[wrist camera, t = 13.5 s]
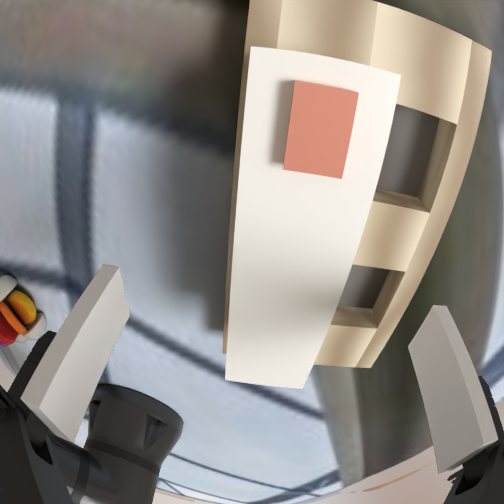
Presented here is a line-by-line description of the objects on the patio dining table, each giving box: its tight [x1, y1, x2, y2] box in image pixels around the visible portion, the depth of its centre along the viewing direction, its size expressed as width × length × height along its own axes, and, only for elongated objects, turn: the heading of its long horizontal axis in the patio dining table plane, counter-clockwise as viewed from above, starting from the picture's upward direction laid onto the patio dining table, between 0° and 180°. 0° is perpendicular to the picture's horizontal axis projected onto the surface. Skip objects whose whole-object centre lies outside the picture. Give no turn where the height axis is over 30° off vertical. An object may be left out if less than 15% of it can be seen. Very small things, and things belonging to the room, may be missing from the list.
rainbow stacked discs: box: [0, 275, 47, 347], centre depth 27 cm, size 8×10×7 cm
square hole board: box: [223, 0, 492, 368], centre depth 18 cm, size 13×26×2 cm, turn 174°
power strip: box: [225, 46, 401, 389], centre depth 16 cm, size 5×18×8 cm, turn 175°
